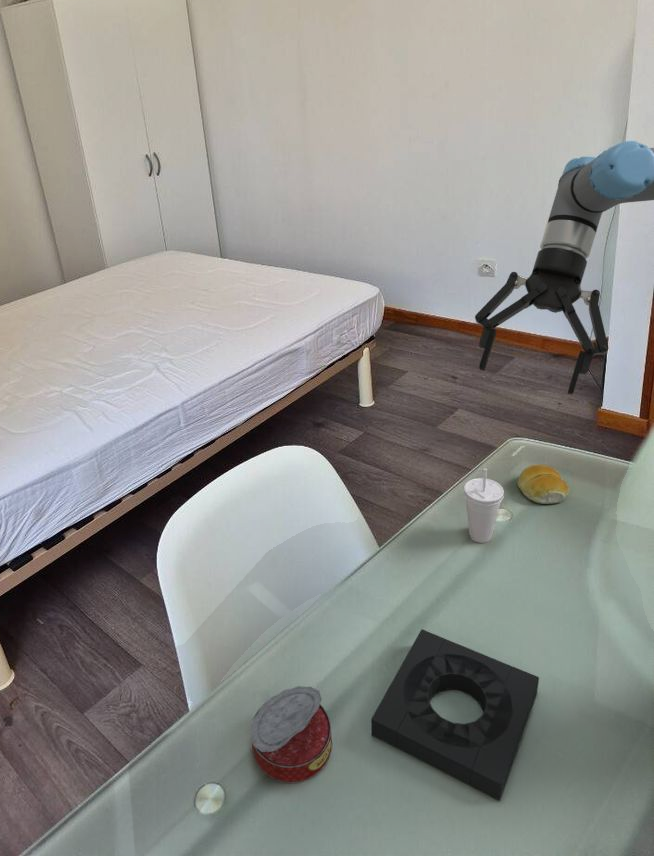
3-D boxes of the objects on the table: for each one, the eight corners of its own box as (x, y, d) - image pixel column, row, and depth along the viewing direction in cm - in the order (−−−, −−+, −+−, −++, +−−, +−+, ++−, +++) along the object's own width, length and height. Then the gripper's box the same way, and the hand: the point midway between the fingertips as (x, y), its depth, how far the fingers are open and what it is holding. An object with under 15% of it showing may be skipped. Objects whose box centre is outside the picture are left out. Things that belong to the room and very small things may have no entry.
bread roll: (553, 474, 130) (556, 456, 129) (573, 503, 122) (576, 485, 121) (510, 477, 130) (512, 459, 129) (527, 507, 122) (529, 488, 121)
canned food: (283, 808, 83) (240, 781, 77) (262, 729, 91) (222, 700, 86) (361, 759, 82) (324, 729, 77) (333, 684, 91) (297, 652, 85)
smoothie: (460, 546, 115) (464, 477, 109) (461, 521, 120) (464, 454, 114) (501, 550, 113) (507, 480, 107) (499, 524, 119) (505, 457, 113)
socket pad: (537, 693, 89) (539, 677, 88) (499, 801, 78) (501, 784, 76) (421, 644, 98) (421, 628, 96) (371, 735, 86) (371, 719, 84)
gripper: (644, 278, 108) (607, 406, 107) (486, 246, 118) (449, 363, 116) (652, 264, 101) (612, 400, 100) (483, 230, 111) (444, 355, 109)
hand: (525, 380), depth 108 cm, fingers open, 13 cm apart
